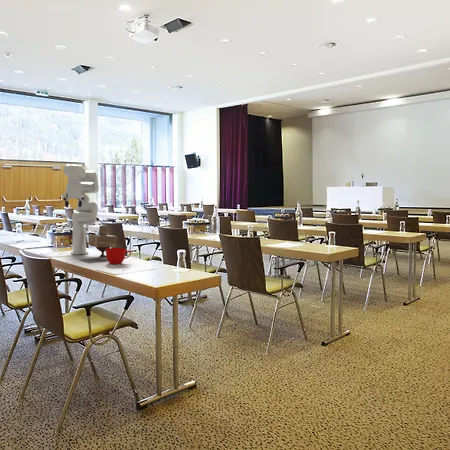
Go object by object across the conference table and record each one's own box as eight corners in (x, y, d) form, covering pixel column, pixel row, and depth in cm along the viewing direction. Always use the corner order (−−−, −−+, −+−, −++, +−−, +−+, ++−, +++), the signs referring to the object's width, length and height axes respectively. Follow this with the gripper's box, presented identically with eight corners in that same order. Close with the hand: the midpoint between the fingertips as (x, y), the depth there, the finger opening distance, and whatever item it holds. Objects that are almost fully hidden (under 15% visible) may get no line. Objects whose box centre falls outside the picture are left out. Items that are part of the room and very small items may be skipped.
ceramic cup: (133, 264, 311) (134, 249, 310) (108, 266, 303) (108, 250, 302) (127, 261, 322) (128, 247, 321) (103, 263, 314) (103, 248, 313)
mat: (77, 260, 321) (77, 259, 321) (99, 258, 333) (99, 257, 333) (89, 263, 309) (89, 263, 309) (112, 261, 320) (112, 261, 320)
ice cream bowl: (106, 258, 334) (106, 237, 333) (92, 257, 336) (92, 236, 335) (112, 256, 344) (113, 236, 343) (98, 255, 347) (99, 235, 346)
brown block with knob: (88, 245, 340) (89, 225, 339) (106, 245, 350) (107, 225, 349) (98, 247, 329) (99, 226, 329) (116, 246, 339) (117, 226, 339)
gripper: (82, 182, 335) (82, 206, 337) (59, 181, 323) (59, 206, 325) (87, 183, 330) (87, 207, 331) (64, 182, 318) (64, 207, 319)
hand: (73, 206), depth 328 cm, fingers open, 9 cm apart
